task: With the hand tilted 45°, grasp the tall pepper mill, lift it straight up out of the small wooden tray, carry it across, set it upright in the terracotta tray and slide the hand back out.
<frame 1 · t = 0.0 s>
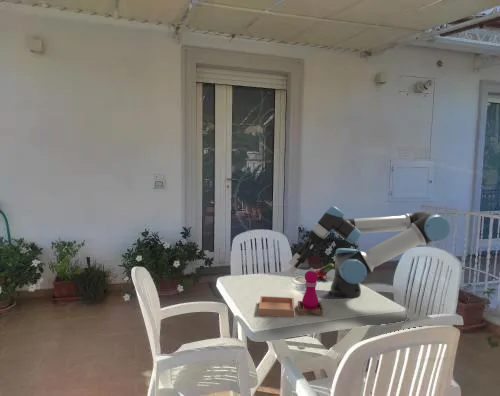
hand: (290, 268, 192), 15 cm above the table, tool tilted 35°, fingers open, 13 cm apart
terracotta tray: (276, 309, 179), on the table
figurine: (323, 278, 229), on the table
pepper mill: (309, 311, 178), resting in small wooden tray
small wooden tray: (309, 311, 178), on the table
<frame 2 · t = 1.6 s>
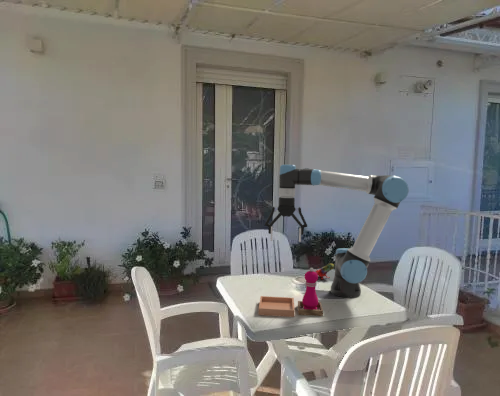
hand: (285, 241, 190), 29 cm above the table, tool pointing down, fingers open, 13 cm apart
nothing on the table moved.
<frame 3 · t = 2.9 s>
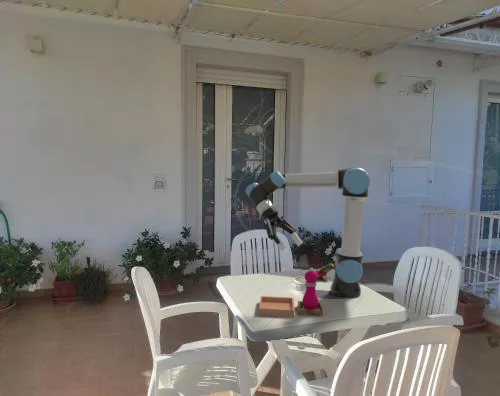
hand: (292, 246, 182), 28 cm above the table, tool tilted 45°, fingers open, 13 cm apart
nothing on the table moved.
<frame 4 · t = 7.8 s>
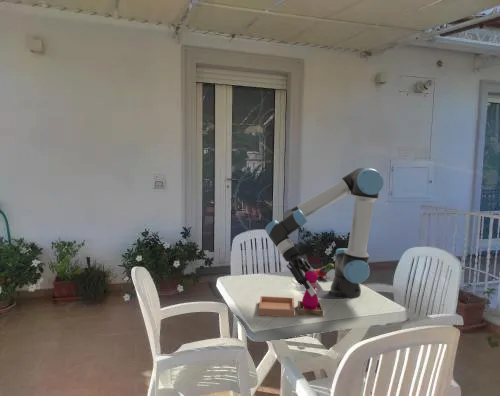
hand: (317, 292, 175), 9 cm above the table, tool tilted 45°, fingers closed on pepper mill, 6 cm apart
pepper mill: (309, 311, 178), resting in small wooden tray, touching gripper
everything else where it was.
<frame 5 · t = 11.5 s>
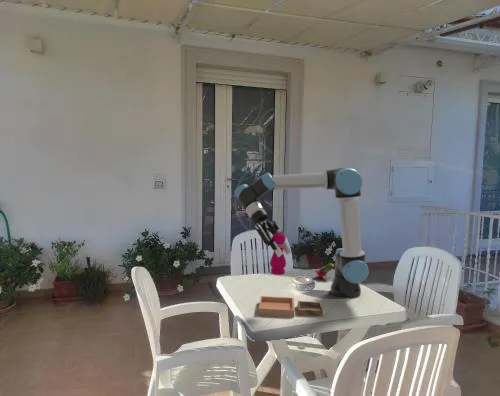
hand: (285, 254, 174), 26 cm above the table, tool tilted 45°, fingers closed on pepper mill, 6 cm apart
pepper mill: (277, 273, 178), point 17 cm above the table, touching gripper
everything else where it was.
when the fingers open (11 cm above the table, at t = 15.3 s): pepper mill moves 3 cm, resting on terracotta tray.
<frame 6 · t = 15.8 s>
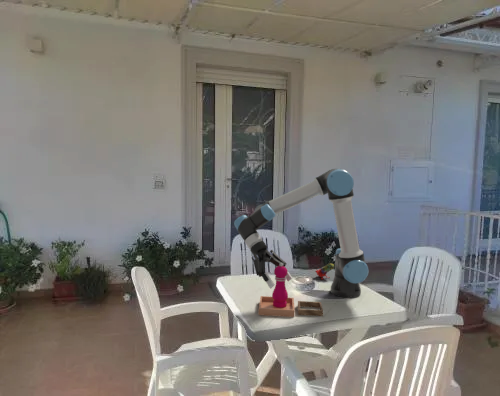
hand: (281, 283, 177), 13 cm above the table, tool tilted 45°, fingers open, 13 cm apart
pepper mill: (279, 305, 181), point 1 cm above the table, touching terracotta tray
everything else where it was.
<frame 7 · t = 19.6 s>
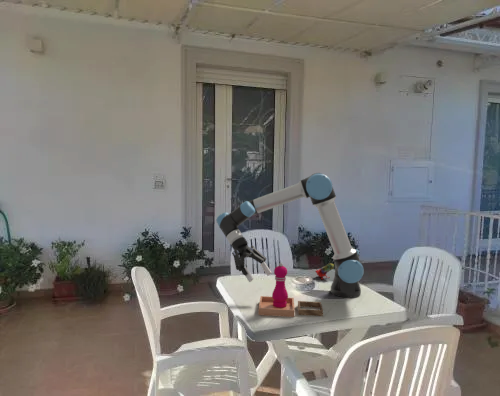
hand: (260, 277, 184), 13 cm above the table, tool tilted 45°, fingers open, 13 cm apart
nothing on the table moved.
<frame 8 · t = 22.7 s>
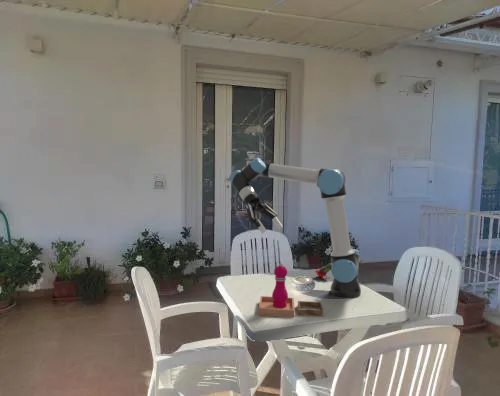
hand: (272, 230, 191), 34 cm above the table, tool tilted 45°, fingers open, 13 cm apart
nothing on the table moved.
at the end: pepper mill inside the target area on the terracotta tray (2.8 cm from its centre), point 0.8 cm above the terracotta tray's base; pepper mill tilted 0°; the gripper is holding nothing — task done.
